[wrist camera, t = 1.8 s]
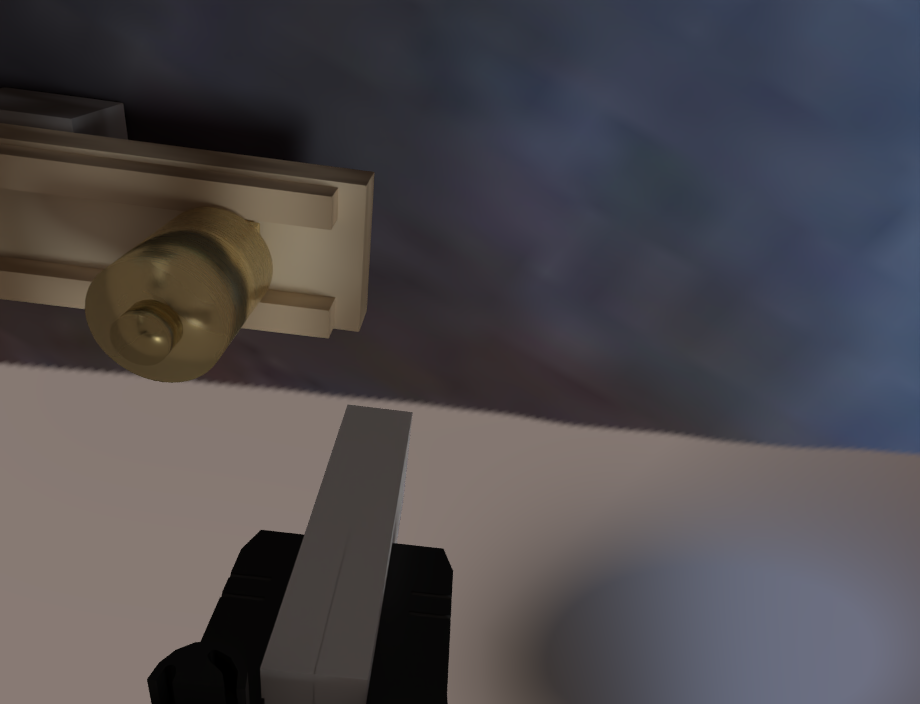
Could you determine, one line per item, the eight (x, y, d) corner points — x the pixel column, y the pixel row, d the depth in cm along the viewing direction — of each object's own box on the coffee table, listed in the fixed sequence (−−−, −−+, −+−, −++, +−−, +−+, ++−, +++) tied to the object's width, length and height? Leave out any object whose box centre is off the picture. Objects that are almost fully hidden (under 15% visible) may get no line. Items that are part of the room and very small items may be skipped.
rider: (180, 291, 25) (78, 392, 18) (169, 190, 23) (51, 264, 16) (282, 303, 25) (216, 408, 19) (281, 204, 23) (206, 283, 17)
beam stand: (-207, 211, 30) (-387, 268, 24) (-273, 50, 27) (-504, 67, 20) (378, 284, 31) (353, 356, 25) (388, 138, 28) (361, 180, 21)
